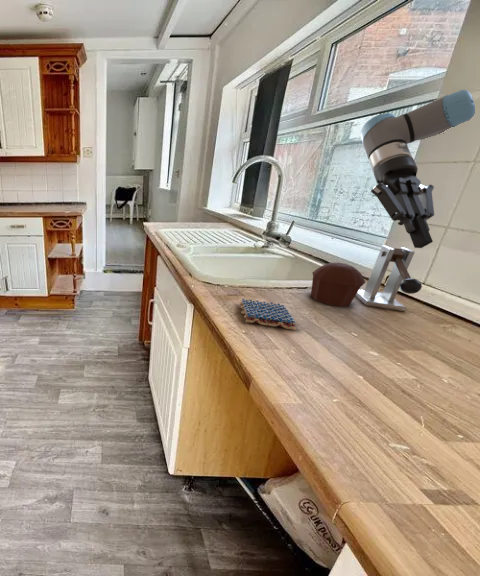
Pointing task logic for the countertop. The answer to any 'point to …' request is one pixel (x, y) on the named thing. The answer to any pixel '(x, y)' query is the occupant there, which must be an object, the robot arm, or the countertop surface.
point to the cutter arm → (405, 274)
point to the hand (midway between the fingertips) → (423, 244)
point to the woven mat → (267, 314)
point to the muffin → (336, 284)
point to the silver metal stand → (393, 283)
